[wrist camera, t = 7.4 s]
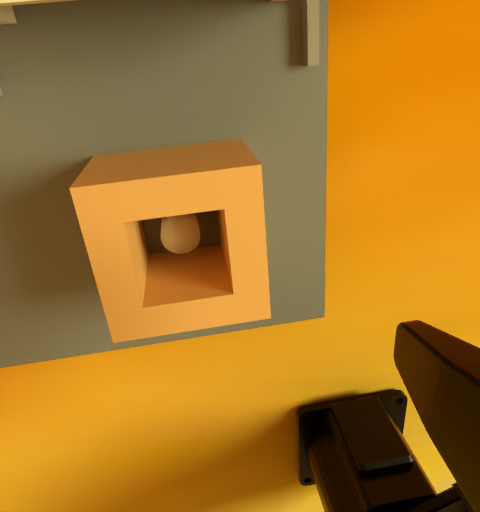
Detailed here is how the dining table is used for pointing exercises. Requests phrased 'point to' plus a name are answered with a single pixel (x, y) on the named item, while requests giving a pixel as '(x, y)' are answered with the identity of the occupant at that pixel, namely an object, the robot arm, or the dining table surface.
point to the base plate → (149, 137)
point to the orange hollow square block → (168, 263)
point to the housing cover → (3, 10)
